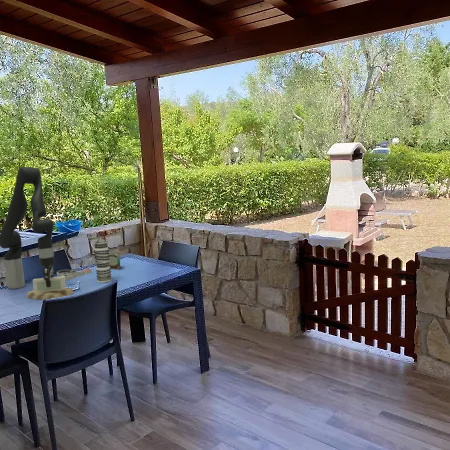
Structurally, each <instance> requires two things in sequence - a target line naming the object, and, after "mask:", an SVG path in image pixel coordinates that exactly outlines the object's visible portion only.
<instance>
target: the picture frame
mask: <svg viewBox="0 0 450 450" xmlns="http://www.w3.org/2000/svg"><path fill="white" fill-rule="evenodd" d="M50 282H51V287H46V281H45V280H44V277H42V278H41V277H40V278H33V279H32V286H33V291H34V293H39V292H49V291H59V290H65V289H66V288H67V287H66V281H65V276H61V277H58V276H53V277H50Z"/></svg>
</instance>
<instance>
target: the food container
mask: <svg viewBox="0 0 450 450" xmlns="http://www.w3.org/2000/svg"><path fill="white" fill-rule="evenodd" d="M109 253H110V254H108V256H110V257H109V258H110V261H109V265H110V269H111V270H115V271H117V270H120V269H121V258H122V255H121V253H120V252H109Z"/></svg>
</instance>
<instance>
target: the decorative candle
mask: <svg viewBox="0 0 450 450" xmlns="http://www.w3.org/2000/svg"><path fill="white" fill-rule="evenodd" d="M93 244H94V250H93V253H94V254H93V255H94V256H93V257H94V258H93V259H95V260H94V262H95V264H96V265H95V266H96V267H95V268H96V270H95V271H96V280H97V281H96V282H97V283H108V282H111V281H112V274H111V272H112V271H111V270H112V269H110V265H109V261H110V258H109V257H110V256H108V254H110V253H111V252H110V249H109V247H108V241H107V240H106V238H105V239H103V238H101V239H96V240H95V241H94V242H93Z"/></svg>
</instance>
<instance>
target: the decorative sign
mask: <svg viewBox="0 0 450 450" xmlns="http://www.w3.org/2000/svg"><path fill="white" fill-rule="evenodd" d="M89 274H92V268H86V269H82V270H80V271H77V270H74V269H61V270H58V271H56V276H57V277H61V276H65V280H67V281H70V279H71V280H73V279H75V278H78V277H81V276H83V275H89Z"/></svg>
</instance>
